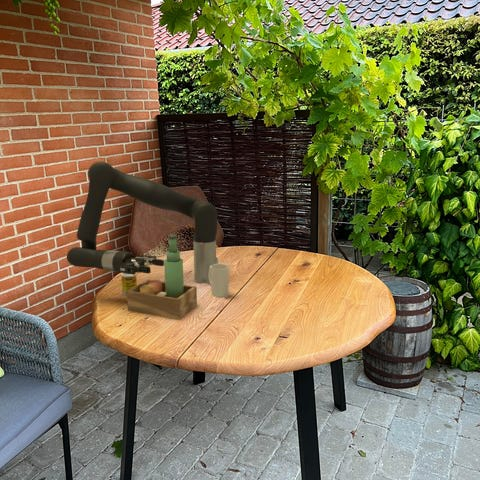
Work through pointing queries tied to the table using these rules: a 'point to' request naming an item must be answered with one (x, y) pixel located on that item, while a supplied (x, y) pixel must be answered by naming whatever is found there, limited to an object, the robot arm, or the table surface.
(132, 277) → the supplement bottle
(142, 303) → the crate
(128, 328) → the table surface
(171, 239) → the green bottle
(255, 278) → the table surface
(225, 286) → the mug
